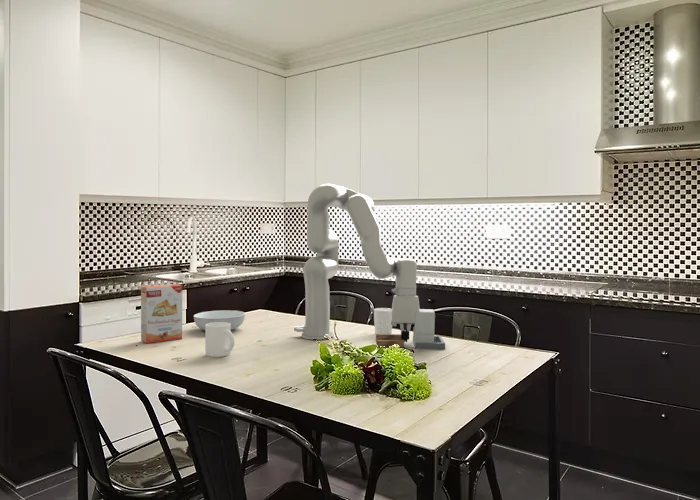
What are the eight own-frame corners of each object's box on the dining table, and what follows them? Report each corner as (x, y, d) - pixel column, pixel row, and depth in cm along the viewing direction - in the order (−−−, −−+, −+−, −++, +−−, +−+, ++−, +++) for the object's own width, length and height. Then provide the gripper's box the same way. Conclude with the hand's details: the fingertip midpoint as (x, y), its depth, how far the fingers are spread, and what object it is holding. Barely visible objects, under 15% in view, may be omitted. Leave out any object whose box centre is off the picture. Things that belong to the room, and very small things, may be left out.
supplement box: (432, 342, 202) (433, 309, 202) (434, 346, 195) (435, 312, 194) (412, 341, 203) (413, 308, 202) (413, 346, 195) (414, 311, 195)
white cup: (393, 332, 222) (393, 308, 221) (392, 336, 214) (393, 311, 213) (374, 331, 222) (374, 307, 222) (373, 335, 215) (373, 310, 214)
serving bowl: (222, 323, 238) (222, 308, 238) (255, 329, 226) (255, 313, 226) (182, 331, 221) (182, 314, 221) (216, 337, 209) (216, 320, 209)
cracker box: (146, 344, 197) (146, 287, 196) (140, 341, 201) (140, 285, 200) (183, 339, 206) (182, 284, 205) (176, 336, 210) (176, 283, 209)
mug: (243, 355, 180) (243, 325, 180) (223, 360, 173) (223, 328, 173) (220, 350, 187) (219, 321, 187) (200, 355, 181) (200, 324, 180)
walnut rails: (376, 347, 193) (376, 340, 193) (376, 340, 205) (376, 334, 205) (404, 348, 193) (404, 341, 193) (402, 340, 205) (402, 334, 205)
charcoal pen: (415, 348, 192) (415, 342, 192) (412, 340, 205) (412, 335, 205) (445, 348, 192) (445, 343, 192) (440, 341, 205) (440, 335, 205)
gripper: (385, 293, 194) (385, 343, 195) (427, 293, 194) (426, 344, 195) (385, 290, 202) (384, 338, 203) (425, 291, 201) (424, 339, 202)
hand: (405, 341), depth 199 cm, fingers closed
